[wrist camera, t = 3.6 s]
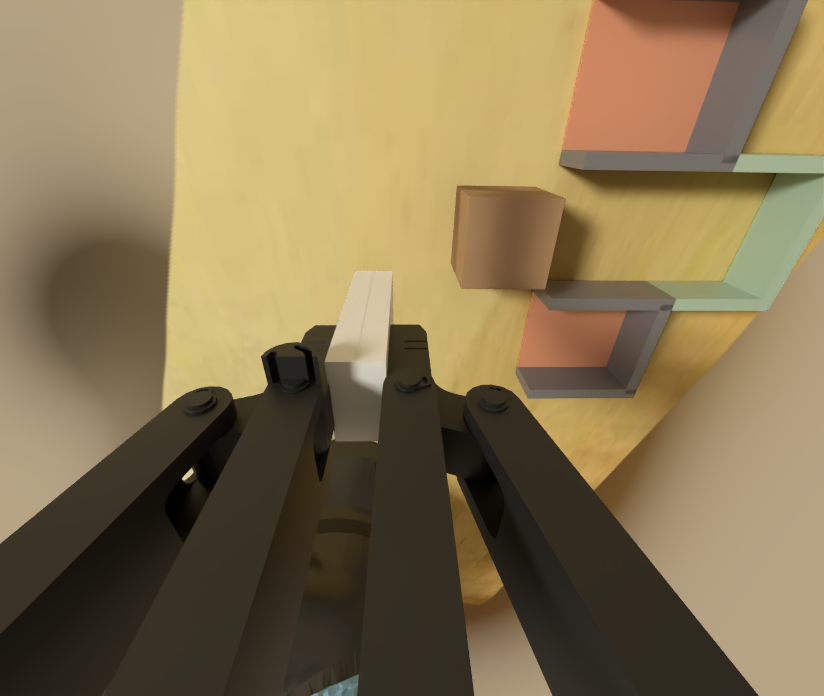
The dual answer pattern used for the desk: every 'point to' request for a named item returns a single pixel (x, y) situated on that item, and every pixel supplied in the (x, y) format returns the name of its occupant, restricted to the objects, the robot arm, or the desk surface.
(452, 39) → the desk surface
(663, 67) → the box
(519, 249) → the walnut block
